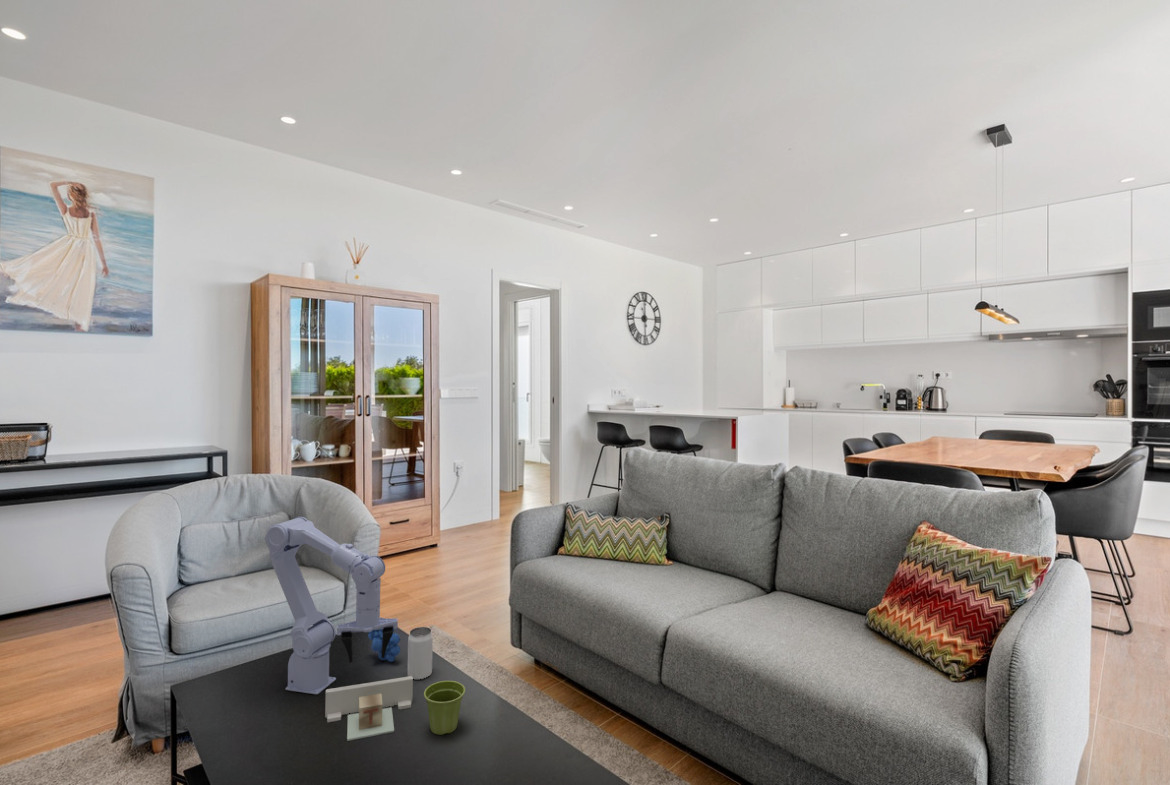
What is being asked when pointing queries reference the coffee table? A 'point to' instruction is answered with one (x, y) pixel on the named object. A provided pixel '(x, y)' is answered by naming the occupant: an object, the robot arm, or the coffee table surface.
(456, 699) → the plant pot
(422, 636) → the can
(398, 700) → the grey screen
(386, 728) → the sage mat
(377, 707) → the maple cube
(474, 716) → the coffee table surface
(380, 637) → the grapes
